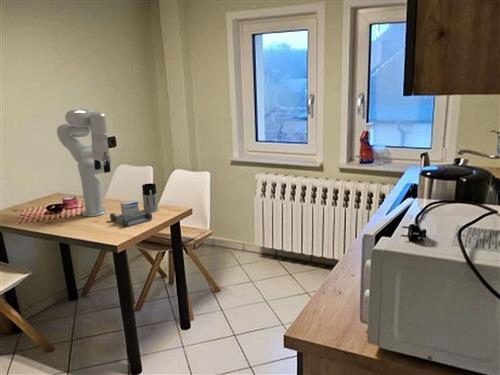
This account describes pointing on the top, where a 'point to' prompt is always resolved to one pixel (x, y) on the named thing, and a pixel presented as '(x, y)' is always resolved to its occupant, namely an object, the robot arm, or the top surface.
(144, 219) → the chassis
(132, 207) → the medicine box
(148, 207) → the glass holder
